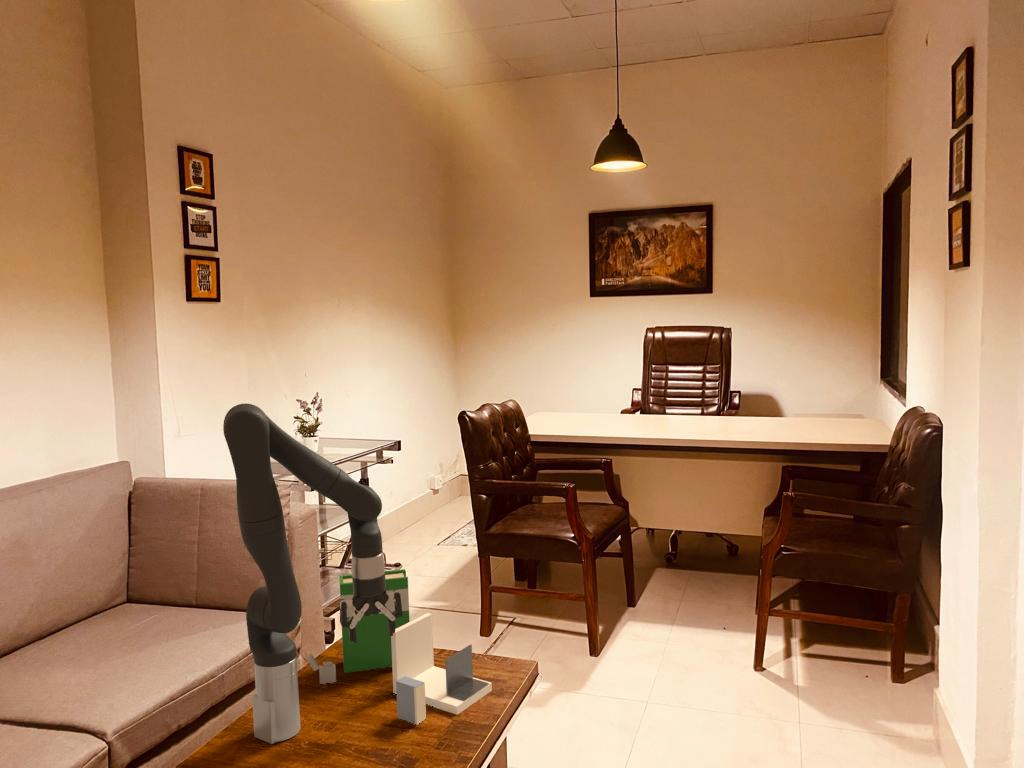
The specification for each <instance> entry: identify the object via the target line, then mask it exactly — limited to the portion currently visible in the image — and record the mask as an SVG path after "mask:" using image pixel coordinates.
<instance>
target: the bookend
mask: <svg viewBox="0 0 1024 768" xmlns="http://www.w3.org/2000/svg"><path fill="white" fill-rule="evenodd" d="M444 663H445V669H446V693H447V696H450V697H453V698H456V699H459V700H462V701H465V700H467V699H468V698H470V697H471V696H473V695H474V694H476V693H477V692H479V691H480V690H482V689H483V688H484V687H486V686H487V685H489V683H487V682H488V681H487V682H483V681H480V680H481V679H480V680H476V679H473V678H474V677H473V675H474V674H473V673H474V672H473V646H472V644H469V645H468V646H465V647H464V648H462V649H460V650H459V651H457V652H456V653H454V654H452V655H450V656H449V657H447V658H445V661H444Z"/></svg>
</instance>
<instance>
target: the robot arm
mask: <svg viewBox="0 0 1024 768" xmlns="http://www.w3.org/2000/svg"><path fill="white" fill-rule="evenodd" d="M222 426H223V429H222V430H223V436H224V438H225V439H224V440H225V443H226V445H227V448H228V451H229V453H230V458H231V462H232V464H233V465H232V466H233V468H234V473H235V480H236V483H235V484H236V506H237V516H238V517H237V518H238V522H239V529H240V534H241V538H242V541H243V543H244V546H245V548H246V550H247V551H248V553H249V555H250V556H251V557H252V559H253V561H254V562H255V565H257V567H258V568H259V570H260V572H261V574H262V576H263V580H264V582H265V583H264V584H265V585H262V586H260V587H258V588H256V589H255V590H254V591H253V592H252V593H251V595H250V596H249V599H248V601H247V605H246V611H245V615H246V619H245V620H246V628H247V637H248V646H249V650H250V652H251V654H252V656H253V663H254V664H253V665H254V682H255V685H254V686H255V694H254V695H252V697H251V701H252V702H251V703H252V716H253V717H252V719H253V736H254V737H255V738H257V739H259V740H261V741H264V742H266V743H268V744H271V745H274V744H275V743H279V742H282V741H287V740H288V739H291V738H293V737H294V736H297V734H298V733H299V732H300V731H301V714H300V711H301V710H300V694H299V679H298V677H299V675H298V657H297V656H298V655H297V646H296V645H297V644H296V643H295V642H294V640H293V639H292V638H290V637H289V636H288V633H290V632H293V631H294V630H295V629H296V628H297V627H298V625H299V624H300V623H299V622H300V621H301V618H302V611H303V610H302V609H303V608H302V600H301V598H302V597H301V596H300V595H301V594H300V591H299V587H298V583H297V580H296V576H295V573H294V569H293V566H292V565H293V564H292V561H291V555H290V549H289V545H288V540H287V530H286V525H285V517H284V511H283V510H284V509H283V505H282V502H281V497H280V494H279V490H278V486H277V484H276V480H275V478H274V475H273V470H272V463H271V458H272V459H273V460H275V461H276V462H278V463H279V464H280V465H282V466H283V467H284V468H285V469H286V470H287V471H289V473H291V474H292V475H293V476H295V477H296V478H297V479H298V480H300V481H301V483H303V484H305V485H306V486H307V487H309V488H311V489H312V490H313V491H315V492H317V493H318V494H320V495H321V496H323V497H324V498H327V499H329V500H330V501H332V502H333V503H335V505H337V506H338V507H340V508H341V509H343V510H344V511H345V512H346V513H347V518H348V524H349V525H348V526H349V529H350V549H351V562H350V563H351V569H350V570H351V571H350V572H351V574H352V581H353V598H352V600H344V599H341V600H339V624H340V625H341V628H342V627H343V628H345V627H347V628H348V629H349V638H350V640H351V641H353V644H354V643H357V640H356V628H355V626H356V624H357V623H358V621H360V619H361V618H362V616H363V615H364V616H369V615H372V614H375V615H376V614H379V613H380V612H381V611H382V612H383V613H384V614H385V615H386V616H387V617H388V618H387V622H388V634H389V636H393V633H395V619H396V618H398V617H401V616H402V615H403V613H402V605H401V597H400V593H399V592H398V590H396V589H395V590H394V591H393V592H390V593H387V592H386V580H385V571H386V570H385V569H386V567H385V566H386V565H385V559H384V553H383V552H384V551H383V539H382V538H383V537H382V532H381V529H380V527H379V523H378V517H379V516H380V514H381V513H382V509H383V504H382V499H381V496H379V494H378V493H377V492H376V491H375V490H374V489H373V488H372V487H371V486H369V485H366V484H361V483H360V482H358V481H356V480H355V479H353V478H352V477H351V476H350V475H349V474H348V473H346V471H344V470H343V469H341V467H339V466H337V465H336V464H334V463H333V462H331V461H330V460H328V459H326V458H325V457H323V456H322V455H320V454H318V453H317V452H316V451H314V450H313V449H310V448H309V447H307V446H305V445H304V444H303V443H301V442H300V441H298V440H297V439H295V438H294V437H293V436H291V435H290V434H288V432H286V431H284V429H282V428H281V427H280V426H278V424H277V423H275V421H273V420H272V419H271V418H270V417H269V416H268V415H267V414H266V413H265V412H264V410H262V408H260V407H259V406H258V405H255V404H252V403H238V404H236V405H235V406H232V407H231V408H230V409H229V410H227V412H226V414H225V416H224V419H223V425H222ZM389 598H391V600H392V601H393V602H394V605H395V611H393V612H391V611H390V610H389V609H388V608H387V607H386V606H385V604H386V602H387V601H388V599H389ZM351 605H353V606H354V607H355V610H354V611H353V613H352V616H351V618H350V619H349V620H347V610H349V608H350V606H351Z"/></svg>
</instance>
